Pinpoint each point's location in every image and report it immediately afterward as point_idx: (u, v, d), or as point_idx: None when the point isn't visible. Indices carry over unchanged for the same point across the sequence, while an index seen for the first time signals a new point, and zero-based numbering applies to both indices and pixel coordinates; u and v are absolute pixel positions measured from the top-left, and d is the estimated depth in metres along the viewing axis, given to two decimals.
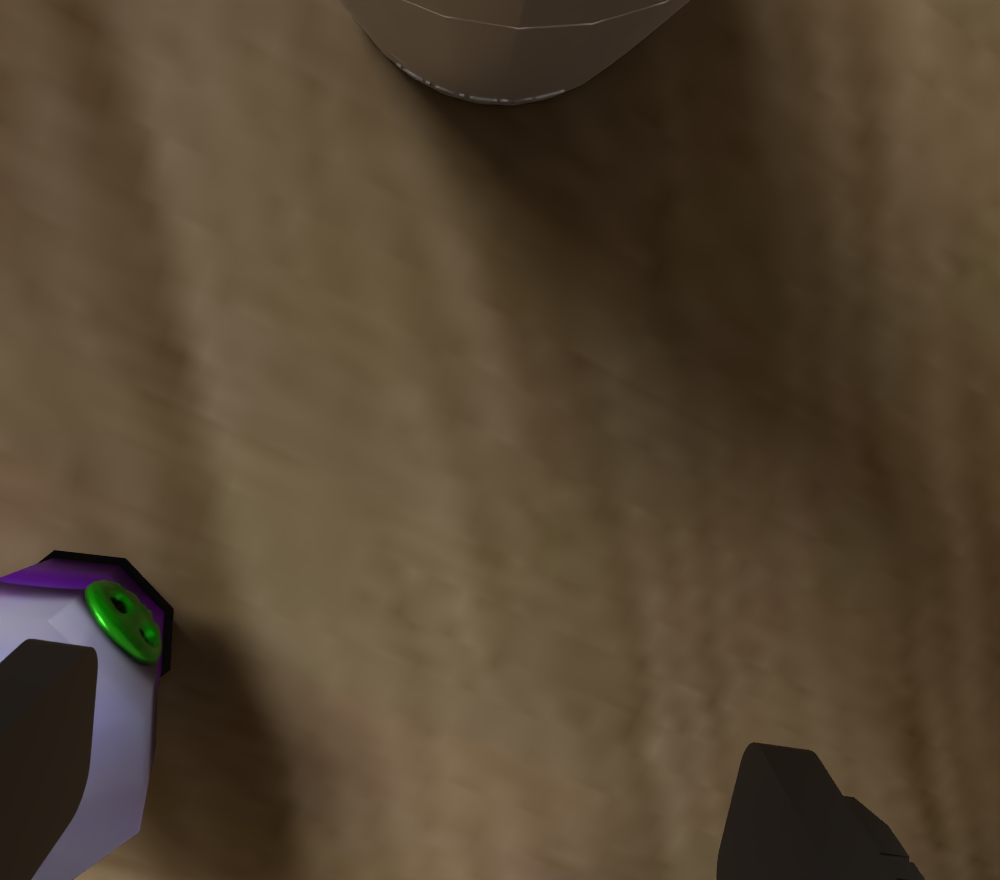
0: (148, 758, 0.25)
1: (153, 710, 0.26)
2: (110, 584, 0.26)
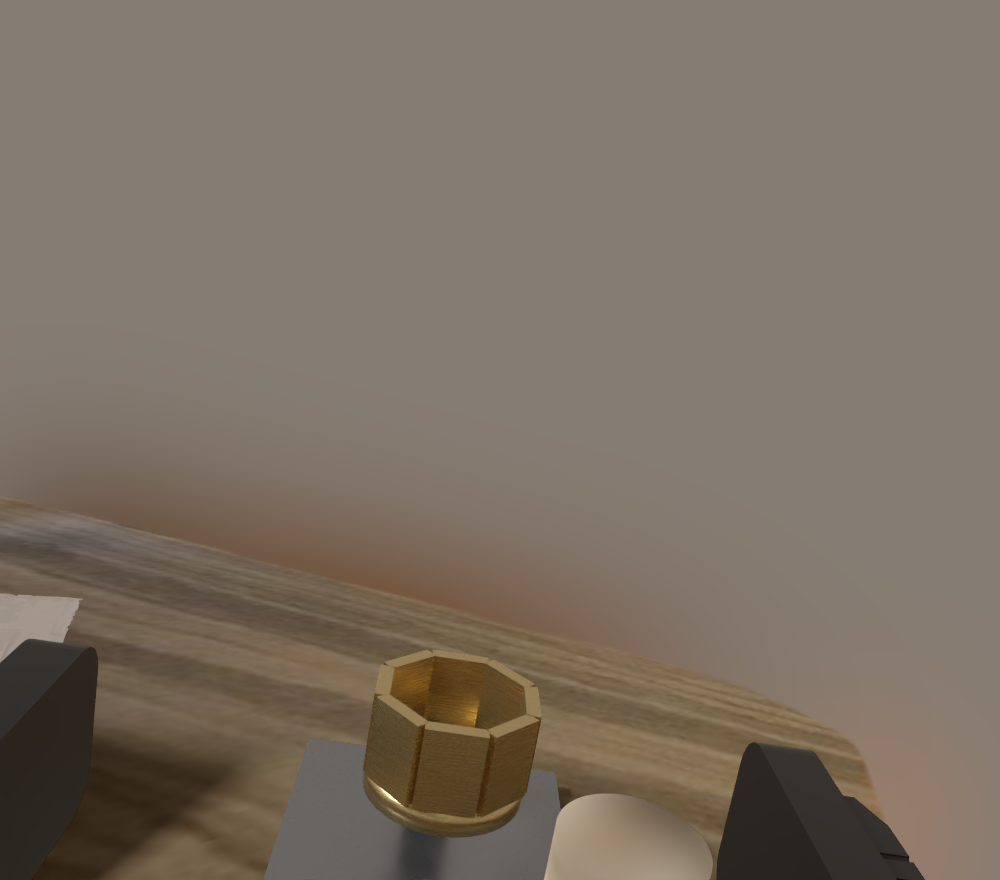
0: None
1: None
2: None
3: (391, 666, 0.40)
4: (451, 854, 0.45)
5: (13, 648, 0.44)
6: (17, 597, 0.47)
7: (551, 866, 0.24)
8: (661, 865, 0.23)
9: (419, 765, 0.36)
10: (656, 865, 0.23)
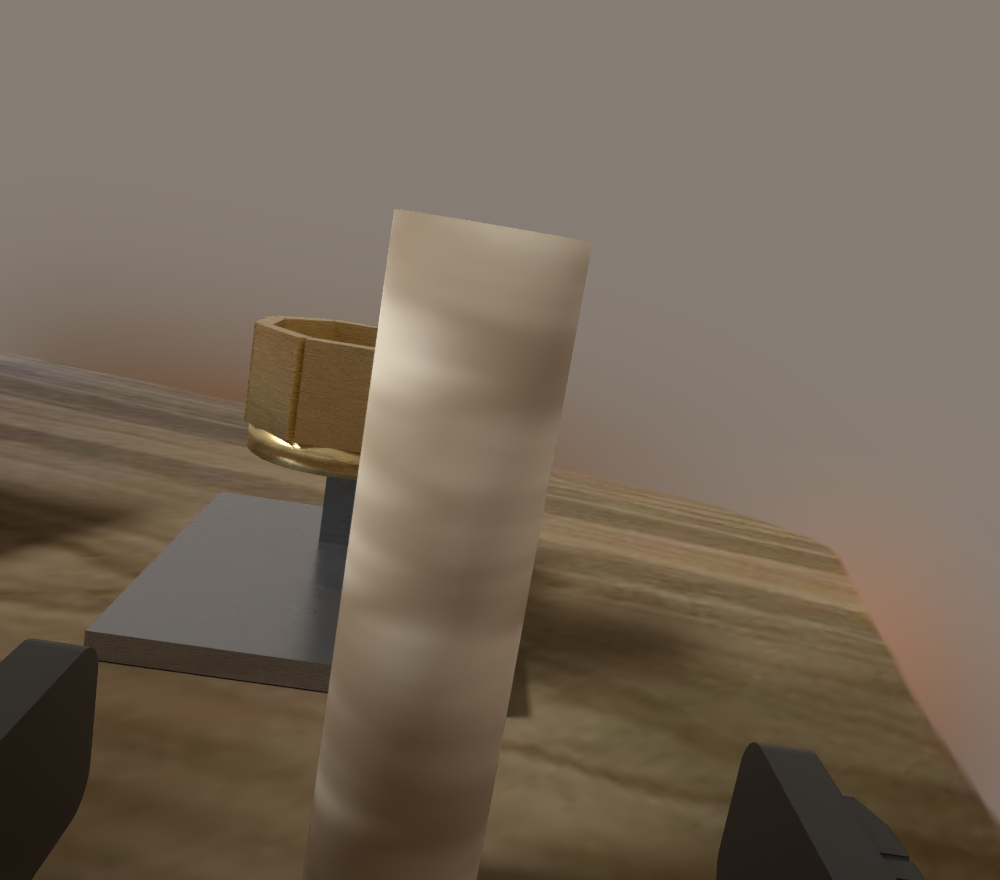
0: None
1: None
2: None
3: (281, 317, 0.35)
4: None
5: None
6: None
7: (388, 251, 0.19)
8: None
9: (301, 387, 0.31)
10: None
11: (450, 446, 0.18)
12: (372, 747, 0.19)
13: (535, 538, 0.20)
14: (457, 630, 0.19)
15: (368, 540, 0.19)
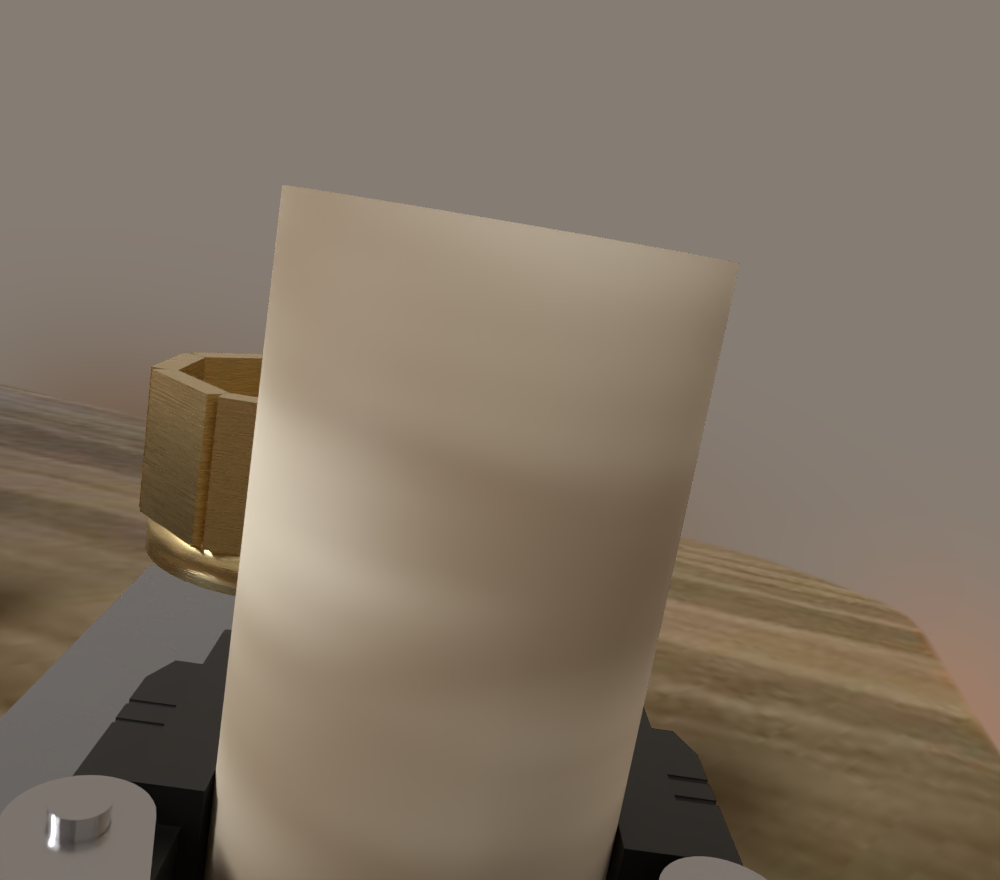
0: None
1: None
2: None
3: (200, 355, 0.25)
4: None
5: None
6: None
7: None
8: None
9: (213, 468, 0.21)
10: None
11: (408, 764, 0.07)
12: None
13: None
14: None
15: None
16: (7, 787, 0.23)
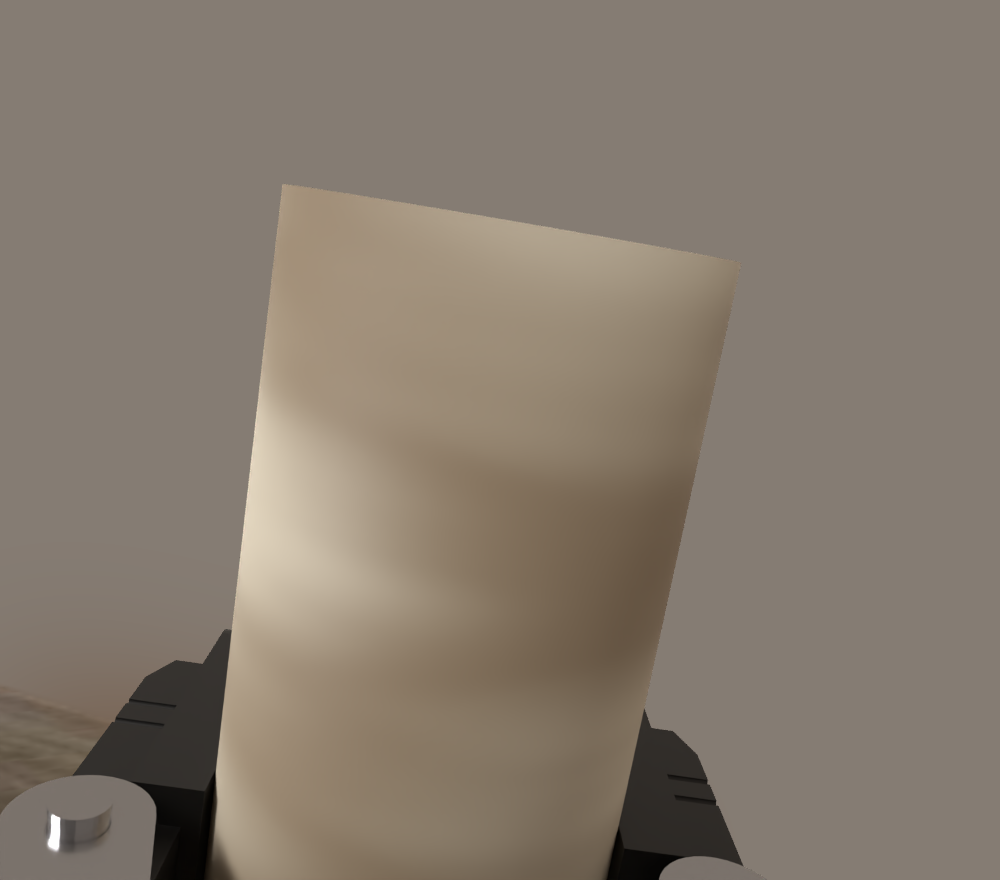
0: None
1: None
2: None
3: None
4: None
5: None
6: None
7: None
8: None
9: None
10: None
11: (409, 765, 0.07)
12: None
13: None
14: None
15: None
16: None
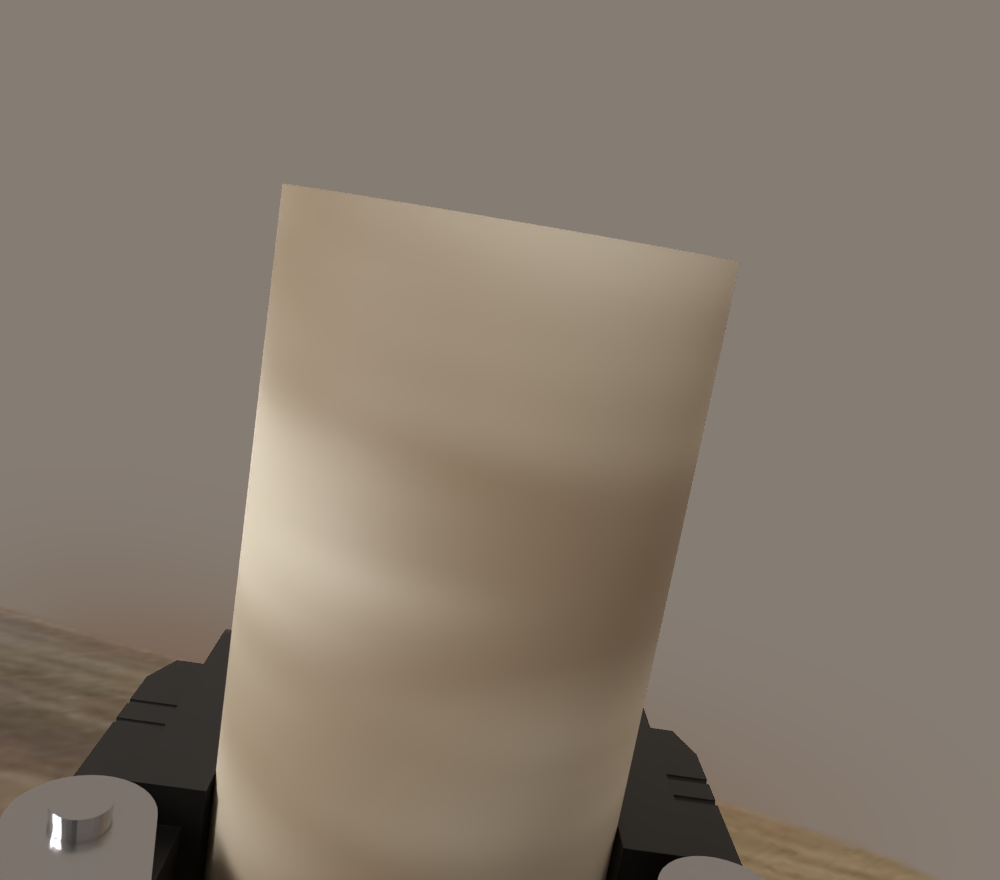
0: None
1: None
2: None
3: None
4: None
5: None
6: None
7: None
8: None
9: None
10: None
11: (409, 764, 0.07)
12: None
13: None
14: None
15: None
16: None
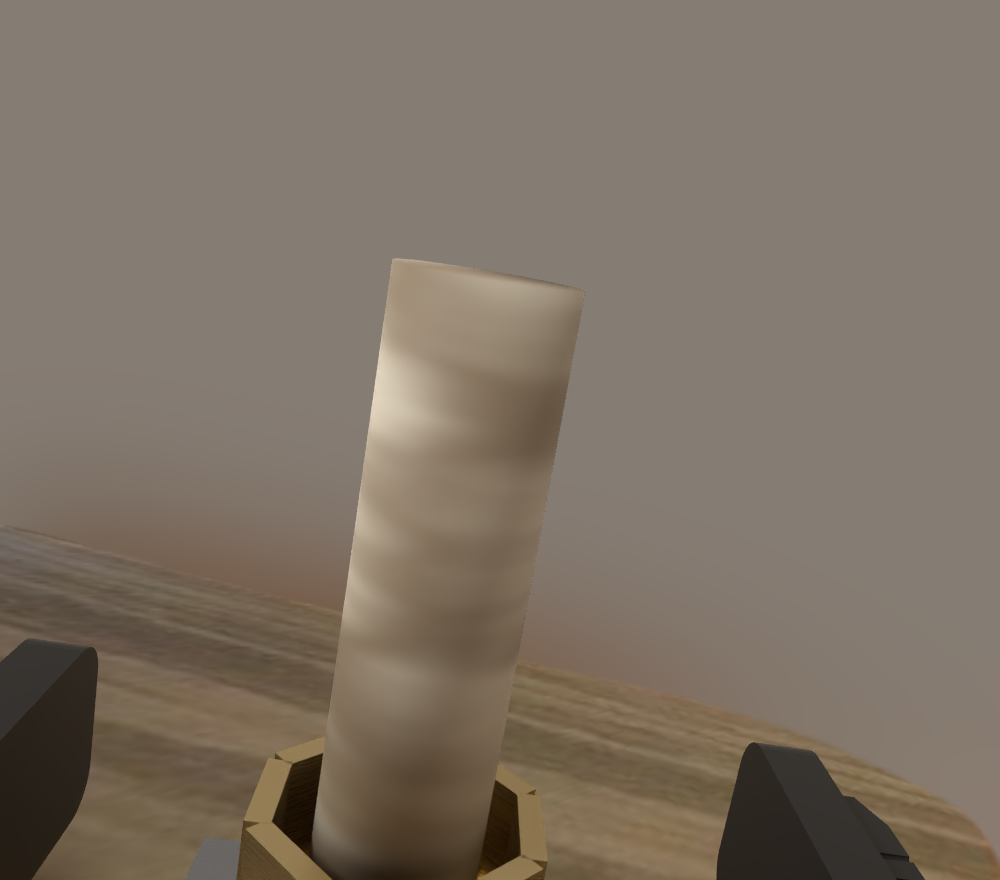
0: None
1: None
2: None
3: (285, 761, 0.23)
4: None
5: None
6: None
7: None
8: (518, 281, 0.19)
9: None
10: (511, 280, 0.19)
11: (446, 492, 0.18)
12: (369, 780, 0.20)
13: (529, 578, 0.20)
14: (452, 669, 0.19)
15: (366, 581, 0.20)
16: None
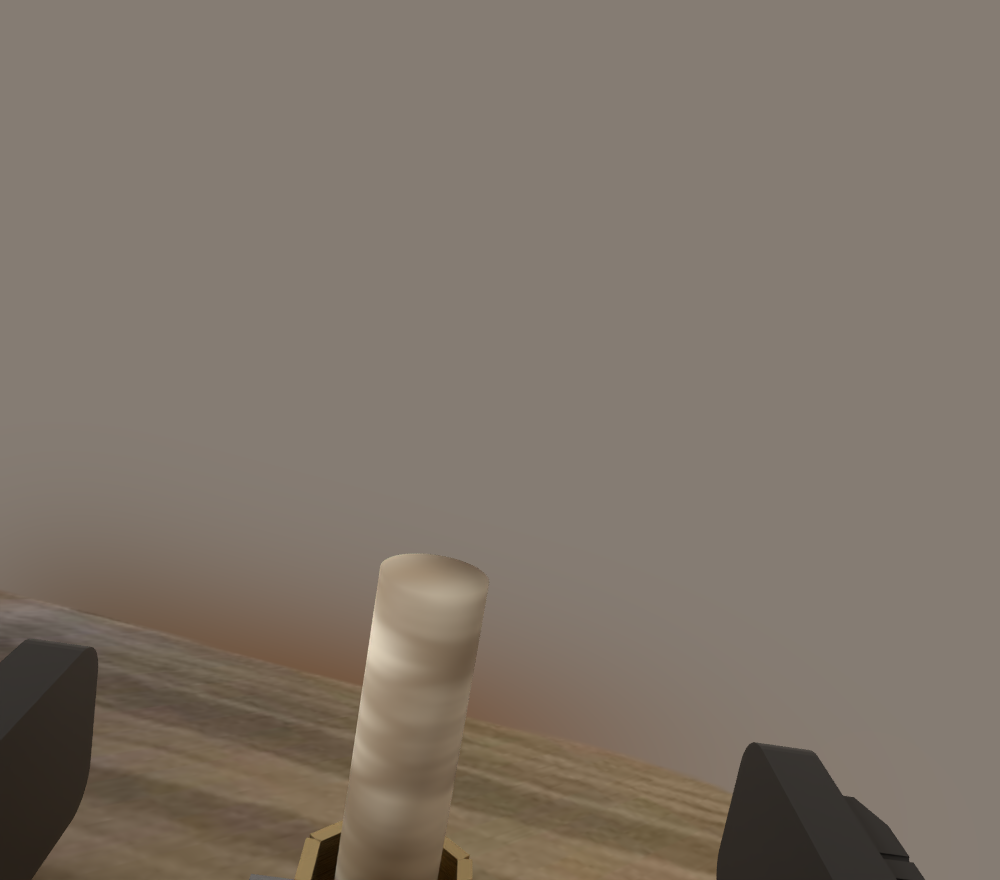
0: None
1: None
2: None
3: (316, 839, 0.38)
4: None
5: None
6: None
7: (377, 589, 0.34)
8: (449, 583, 0.34)
9: None
10: (446, 583, 0.34)
11: (409, 702, 0.33)
12: (367, 857, 0.35)
13: (459, 741, 0.35)
14: (414, 796, 0.34)
15: (366, 746, 0.35)
16: None
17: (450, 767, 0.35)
